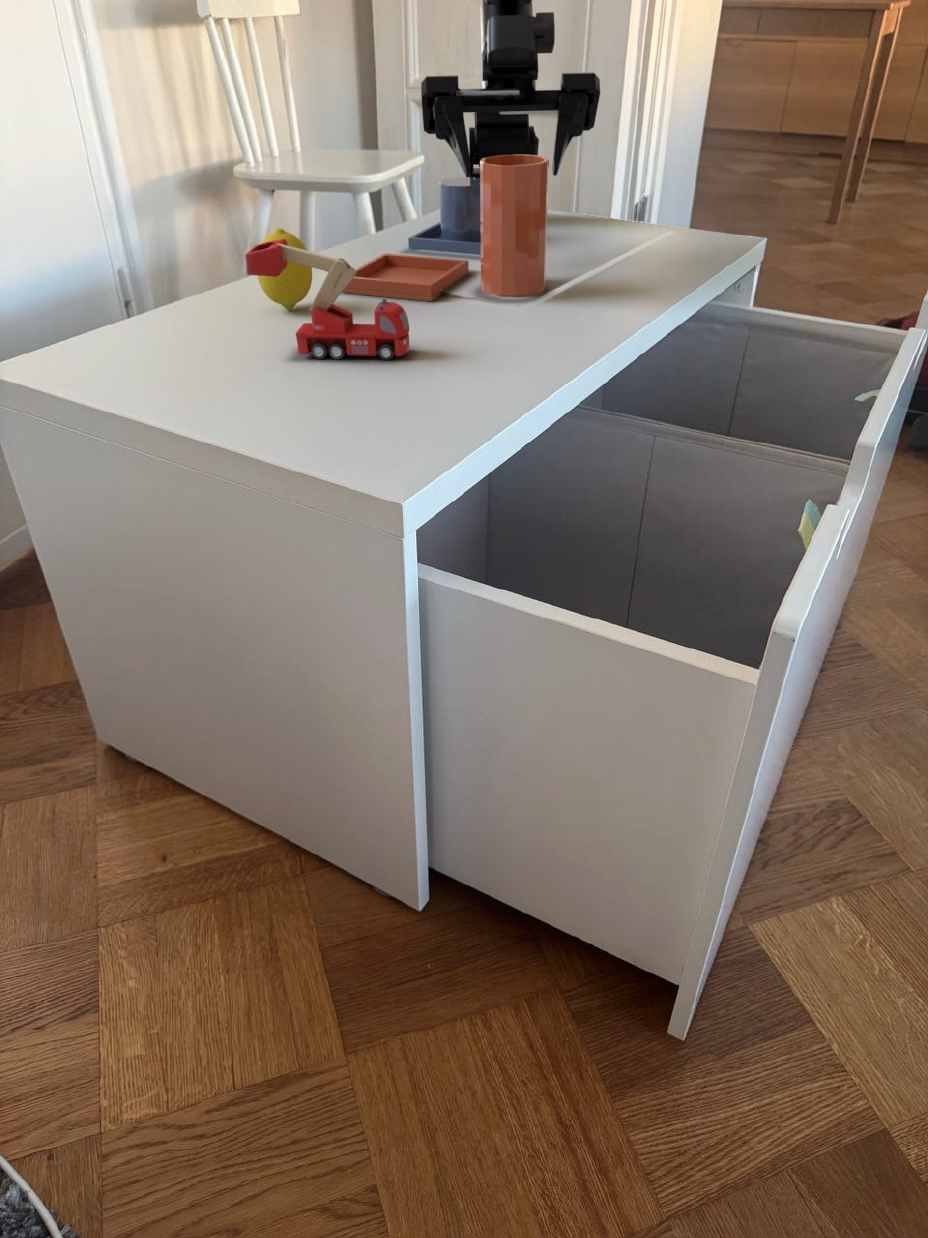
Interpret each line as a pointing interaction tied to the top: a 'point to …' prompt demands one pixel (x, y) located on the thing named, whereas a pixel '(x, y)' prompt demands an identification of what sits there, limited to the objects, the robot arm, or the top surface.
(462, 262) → the terracotta tray
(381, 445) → the top surface
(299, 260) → the toy fire truck
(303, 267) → the lemon
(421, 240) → the slate tray
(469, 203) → the blue-grey drinking cup
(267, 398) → the top surface
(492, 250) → the terracotta cup
